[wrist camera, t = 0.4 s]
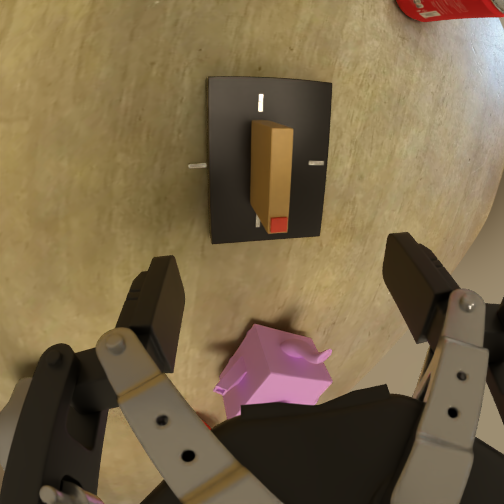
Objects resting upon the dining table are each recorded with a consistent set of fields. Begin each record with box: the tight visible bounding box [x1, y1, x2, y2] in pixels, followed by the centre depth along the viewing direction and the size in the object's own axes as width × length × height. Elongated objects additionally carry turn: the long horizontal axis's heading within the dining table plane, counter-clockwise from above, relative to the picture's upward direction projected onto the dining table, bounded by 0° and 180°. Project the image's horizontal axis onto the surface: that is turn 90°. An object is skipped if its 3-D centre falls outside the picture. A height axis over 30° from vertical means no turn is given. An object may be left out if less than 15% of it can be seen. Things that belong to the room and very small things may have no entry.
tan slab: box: [250, 120, 293, 234], centre depth 22 cm, size 7×1×6 cm, turn 179°
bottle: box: [0, 378, 32, 471], centre depth 21 cm, size 11×11×30 cm
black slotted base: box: [188, 76, 332, 244], centre depth 25 cm, size 14×12×2 cm
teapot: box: [213, 324, 332, 420], centre depth 33 cm, size 18×13×10 cm
